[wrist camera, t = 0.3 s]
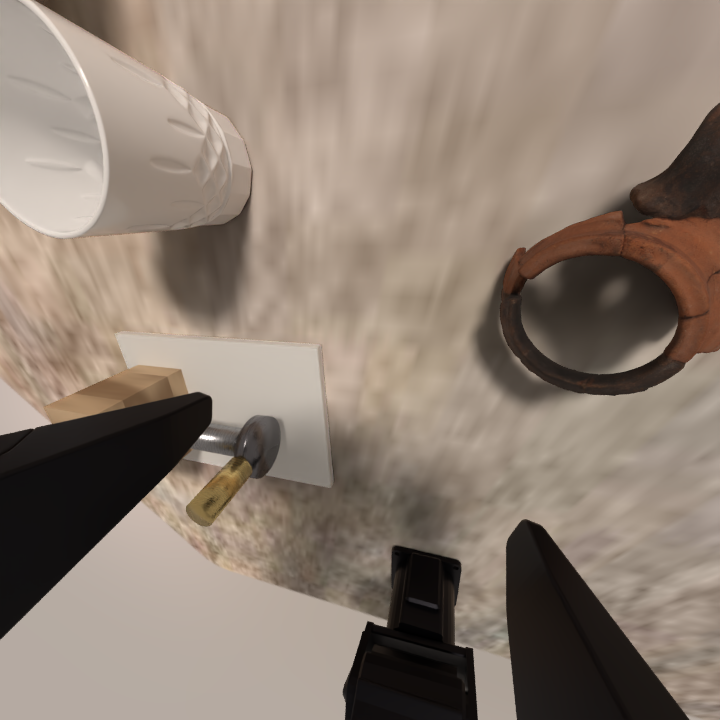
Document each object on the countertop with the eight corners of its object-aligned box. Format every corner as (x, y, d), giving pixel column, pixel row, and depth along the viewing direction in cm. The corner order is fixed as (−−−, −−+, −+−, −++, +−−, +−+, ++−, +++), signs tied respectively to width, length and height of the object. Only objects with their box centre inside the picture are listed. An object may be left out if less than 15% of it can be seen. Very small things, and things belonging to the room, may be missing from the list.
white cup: (152, 199, 22) (-46, 182, 13) (167, 68, 18) (-94, -76, 10) (242, 253, 22) (103, 273, 13) (277, 133, 18) (113, 46, 9)
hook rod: (288, 451, 26) (220, 545, 18) (131, 424, 30) (25, 491, 23) (280, 405, 24) (202, 488, 16) (115, 384, 29) (-6, 441, 21)
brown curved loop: (675, 361, 18) (657, 450, 13) (515, 307, 23) (461, 358, 18) (910, 86, 10) (1064, 68, 6) (591, 96, 15) (531, 91, 11)
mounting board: (333, 481, 29) (330, 488, 28) (166, 449, 34) (160, 454, 33) (321, 344, 23) (317, 348, 22) (123, 330, 28) (114, 333, 28)
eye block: (202, 441, 30) (133, 501, 24) (163, 434, 32) (87, 489, 25) (181, 369, 27) (94, 415, 20) (138, 364, 28) (43, 407, 22)
